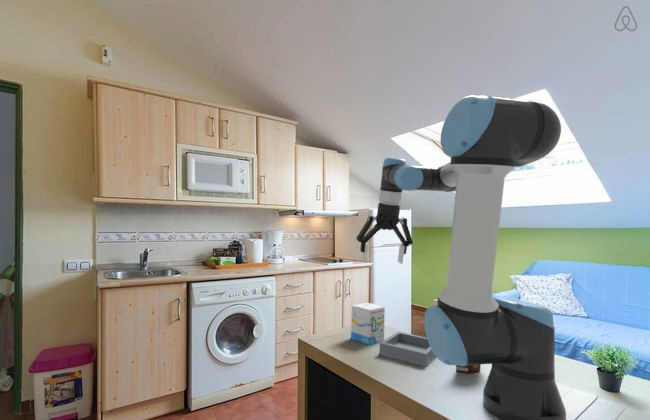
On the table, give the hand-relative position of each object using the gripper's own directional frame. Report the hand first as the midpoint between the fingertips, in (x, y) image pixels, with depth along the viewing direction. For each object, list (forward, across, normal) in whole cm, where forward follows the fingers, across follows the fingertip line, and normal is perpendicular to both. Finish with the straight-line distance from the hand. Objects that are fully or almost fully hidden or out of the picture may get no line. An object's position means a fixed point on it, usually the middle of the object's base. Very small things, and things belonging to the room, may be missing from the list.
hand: (382, 261), depth 117 cm
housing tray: (+23, -5, +20) cm, 31 cm away
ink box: (+26, +4, +6) cm, 27 cm away
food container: (+20, -17, +33) cm, 42 cm away
